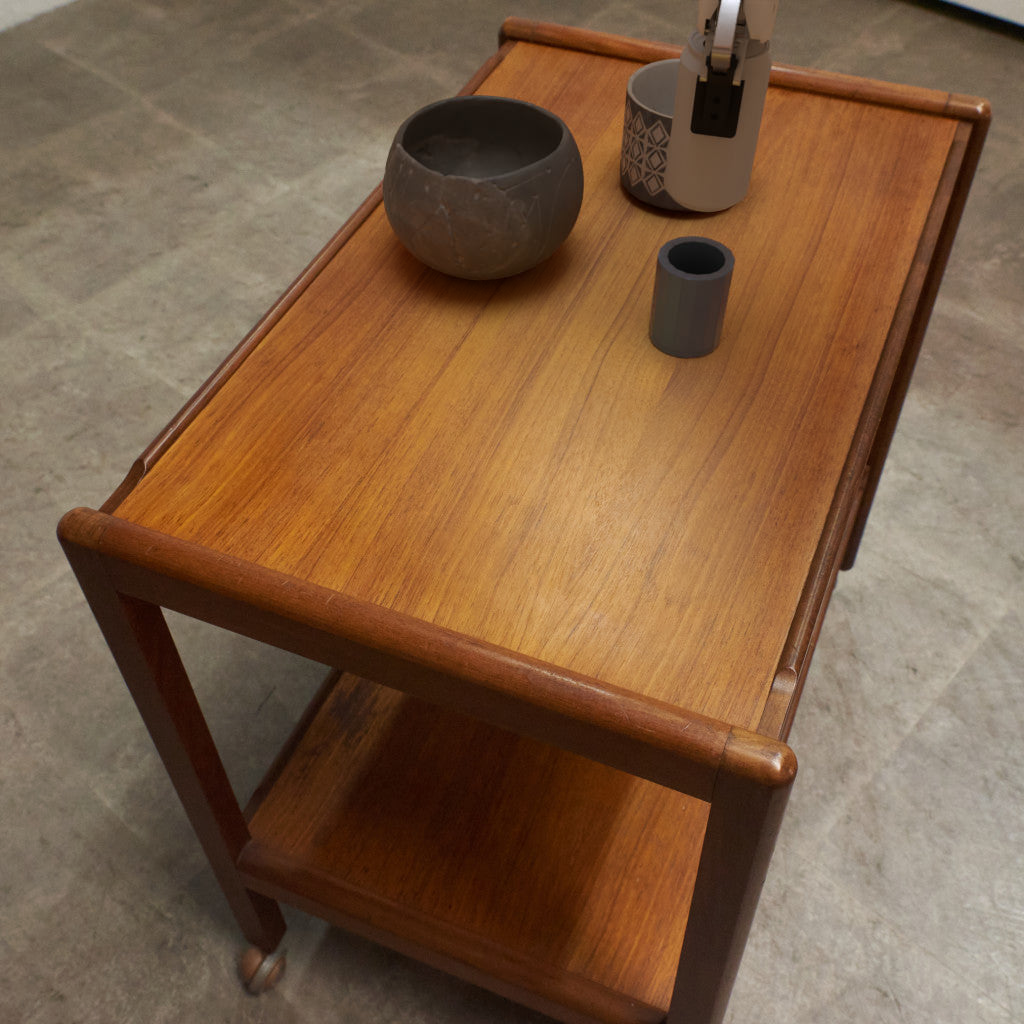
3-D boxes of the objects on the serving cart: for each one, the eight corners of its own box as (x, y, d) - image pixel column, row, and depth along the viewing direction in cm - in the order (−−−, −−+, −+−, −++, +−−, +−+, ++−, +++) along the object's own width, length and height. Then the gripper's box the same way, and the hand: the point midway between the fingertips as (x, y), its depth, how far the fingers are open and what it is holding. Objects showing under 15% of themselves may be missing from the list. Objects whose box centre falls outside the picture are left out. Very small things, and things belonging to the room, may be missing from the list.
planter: (739, 157, 113) (756, 60, 105) (745, 224, 104) (764, 124, 96) (620, 151, 113) (628, 54, 106) (616, 217, 105) (625, 117, 97)
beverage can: (648, 185, 83) (664, 31, 74) (716, 165, 85) (740, 13, 76) (693, 225, 80) (716, 68, 71) (763, 204, 82) (794, 48, 73)
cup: (724, 319, 94) (739, 242, 88) (715, 363, 90) (730, 285, 84) (655, 308, 95) (664, 231, 89) (643, 351, 91) (652, 273, 85)
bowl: (358, 290, 97) (342, 163, 87) (434, 190, 108) (427, 68, 99) (543, 332, 93) (547, 203, 83) (602, 224, 104) (611, 100, 95)
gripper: (816, -121, 58) (758, 178, 71) (834, -208, 69) (781, 63, 82) (679, -133, 59) (647, 163, 72) (718, -217, 70) (685, 52, 84)
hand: (719, 108), depth 77 cm, fingers closed on beverage can, 6 cm apart
